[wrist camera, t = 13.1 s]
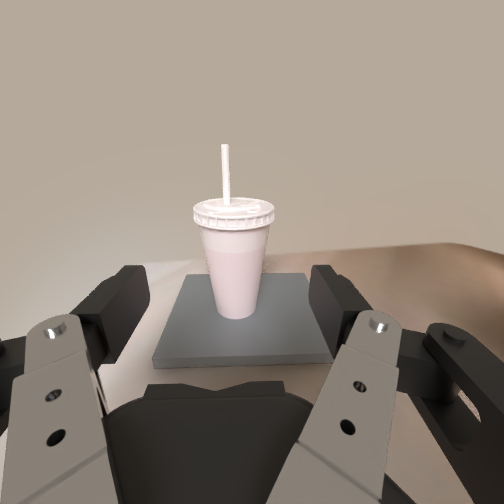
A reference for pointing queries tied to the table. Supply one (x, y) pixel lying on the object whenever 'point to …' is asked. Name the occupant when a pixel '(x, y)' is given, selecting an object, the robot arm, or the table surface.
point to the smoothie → (234, 245)
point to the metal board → (243, 327)
